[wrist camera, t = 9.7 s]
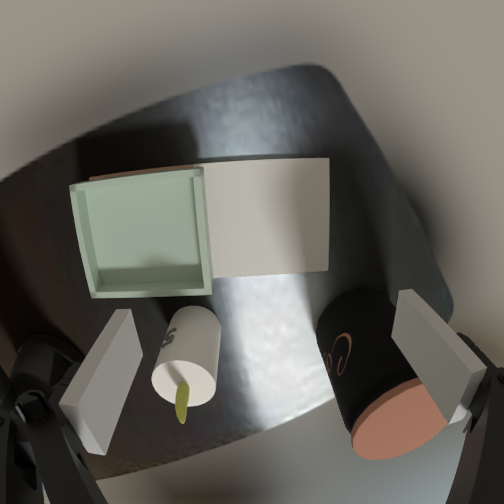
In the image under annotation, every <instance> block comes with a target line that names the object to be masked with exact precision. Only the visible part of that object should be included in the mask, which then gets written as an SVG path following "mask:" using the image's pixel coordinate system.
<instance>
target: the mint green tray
mask: <svg viewBox="0 0 504 504" xmlns="http://www.w3.org/2000/svg"><path fill="white" fill-rule="evenodd" d="M69 187H70V195H71V202H72V208H73V214H74V220H75V226H76V231H77V237H78V242H79V247H80V252H81V256H82V261H83V265H84V269H85V274H86V278H87V282H88V286H89V290H90V294H91V297H92V298H130V297H166V296H192V295H212V293H213V287H214V277H213V267H212V258H211V247H210V237H209V226H208V215H207V203H206V191H205V178H204V167H193V168H183V169H173V170H163V171H154V172H146V173H138V174H130V175H123V176H116V177H109V178H102V179H96V180H89V181H83V182H79V183H76V184H73V185H69Z"/></svg>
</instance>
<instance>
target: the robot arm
mask: <svg viewBox="0 0 504 504" xmlns="http://www.w3.org/2000/svg"><path fill="white" fill-rule="evenodd" d="M391 337H392V338H393V340H394V341H395V343H396V344H397V346H398V347H399V349H400V350H401V352H402V353H403V355H404V356H405V358H406V359H407V361H408V362H409V364H410V365H411V367H412V368H413V370H414V371H415V373H416V374H417V376H418V377H419V379H420V380H421V382H422V383H423V385H424V386H425V388H426V389H427V391H428V393H429V394H430V396H431V397H432V399H433V400H434V402H435V404H436V405H437V407H438V408H439V410H440V412H441V413H442V415H443V416H444V418H445V420H446V421H447V423H448V424H451V423H454V422H457V421H459V420H462V419H463V418H464V416H465V414H466V412H467V410H468V409H469V410H470V412H471V413H472V416H471V418H470V419H469V421H468V423H467V425H466V427H465V428H464V430H463V433H465V432H466V430H467V433H466V437H465V442H464V446H463V450H462V453H461V457H460V461H459V465H458V468H457V472H456V474H455V478H454V481H453V484H452V487H451V490H450V493H449V496H448V499H447V501H446V504H504V368H502V367H500V368H497V367H496V366H495V365H494V364H493V363H492V362H491V361H490V360H489V359H488V358H487V356H486V355H485V354H484V353H483V352H482V351H480V349H479V348H478V347H477V346H475V344H474V343H473V342H472V341H471V339H470V338H469V337H467V336H465V335H463V334H462V333H455V332H454V331H453V330H452V329H451V328H450V327H449V326H448V325H447V324H446V323H445V322H444V321H443V320H442V319H441V317H440V316H439V315H438V314H437V313H436V312H435V311H434V310H433V309H432V308H431V307H430V306H429V305H428V304H427V303H426V302H425V301H424V300H423V299H422V298H421V297H420V296H419V295H418V294H417V293H415V292H414V291H413V290H412V289H409V290H400V291H399V295H398V301H397V308H396V314H395V319H394V325H393V330H392V335H391ZM142 356H143V353H142V350H141V346H140V342H139V339H138V335H137V331H136V328H135V324H134V320H133V316H132V312H131V309H117V310H116V311H115V313H114V314H113V316H112V317H111V319H110V320H109V322H108V323H107V325H106V326H105V328H104V329H103V331H102V332H101V334H100V336H99V337H98V339H97V340H96V342H95V343H94V345H93V347H92V348H91V350H90V351H89V353H88V355H87V356H86V358H85V357H84V356H83V355H82V354H81V353H80V352H78V351H77V350H76V349H75V348H74V347H72V346H71V345H69V344H68V343H66V342H65V341H63V340H61V339H59V338H57V337H54V336H51V335H47V334H34V335H31V336H29V337H28V338H27V339H26V340H25V341H24V342H23V343H22V345H21V346H20V347H19V349H18V351H17V355H16V361H15V363H14V366H13V369H12V371H11V375H10V377H9V378H8V376H7V375H6V373H5V372H4V370H3V369H2V367H1V366H0V504H44V497H43V491H44V489H45V490H46V494H47V496H48V499H49V501H50V504H108V503H107V501H106V499H105V497H104V496H103V494H102V492H101V490H100V489H99V487H98V485H97V483H96V481H95V479H94V477H93V476H92V474H91V472H90V470H89V468H88V466H87V464H86V462H85V460H84V457H83V455H82V454H81V453H80V448H81V446H82V444H83V445H84V447H85V448H86V450H87V451H88V452H89V453H94V454H100V455H106V452H107V449H108V446H109V444H110V441H111V438H112V435H113V432H114V429H115V427H116V424H117V421H118V418H119V416H120V413H121V410H122V408H123V405H124V402H125V400H126V397H127V394H128V392H129V389H130V387H131V384H132V381H133V379H134V376H135V374H136V371H137V369H138V366H139V364H140V361H141V359H142Z"/></svg>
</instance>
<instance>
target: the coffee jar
mask: <svg viewBox="0 0 504 504" xmlns="http://www.w3.org/2000/svg"><path fill="white" fill-rule="evenodd" d="M395 314H396V307H395V306H394V305H393V304H392V303H391V302H390V301H389V300H388V299H387V298H386V297H385V296H384V295H383V294H381V293H379V292H376V291H374V290H367V289H358V290H354V291H350V292H346V293H344V294H343V295H341V296H339V297H337V298H336V299H334V300H333V301H332V302H331V303H330V304H329V305H328V306H327V307H326V308H325V309H324V311H323V313H322V315H321V316H320V318H319V320H318V324H317V329H316V339H317V344H318V347H319V350H320V353H321V356H322V358H323V361H324V364H325V367H326V370H327V373H328V376H329V379H330V382H331V385H332V388H333V391H334V394H335V397H336V399H337V403H338V406H339V409H340V412H341V415H342V418H343V421H344V424H345V427H346V428H347V430H348V431H349V433H350V434H351V443H352V448H353V449H354V451H355V452H356V453H357V454H358V455H359V456H361V457H364V458H367V459H375V460H376V459H377V460H382V459H387V458H392V457H397V456H399V455H402V454H405V453H407V452H410V451H412V450H414V449H416V448H417V447H419V446H421V445H423V444H424V443H426V442H427V441H428V440H430V439H431V438H432V437H434V436H435V435H436V434H437V433H439V432H440V431H441V430H442V428H443V427H444V426H445V425H446V424H447V421H446V420H445V418H444V416H443V415H442V413H441V412H440V410H439V408H438V407H437V405H436V404H435V402H434V400H433V399H432V397H431V396H430V394H429V393H428V391H427V389H426V388H425V386H424V385H423V383H422V382H421V380H420V379H419V377H418V376H417V374H416V373H415V371H414V370H413V368H412V367H411V365H410V364H409V362H408V361H407V359H406V358H405V356H404V355H403V353H402V352H401V350H400V349H399V347H398V346H397V344H396V343H395V341H394V340H393V338H392V337H391V335H392V330H393V325H394V319H395Z"/></svg>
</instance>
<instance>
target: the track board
mask: <svg viewBox="0 0 504 504" xmlns="http://www.w3.org/2000/svg"><path fill="white" fill-rule="evenodd" d="M193 167H204V178H205V191H206V203H207V215H208V226H209V237H210V247H211V258H212V267H213V277H214V278H224V277H242V276H259V275H275V274H291V273H305V272H320V271H328V260H329V216H330V178H329V158H290V159H262V160H243V161H227V162H213V163H201V164H190V165H179V166H170V167H161V168H152V169H144V170H136V171H129V172H121V173H114V174H108V175H101V176H95V177H90V178H89V180H96V179H102V178H109V177H116V176H123V175H130V174H138V173H146V172H154V171H163V170H173V169H183V168H193Z"/></svg>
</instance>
